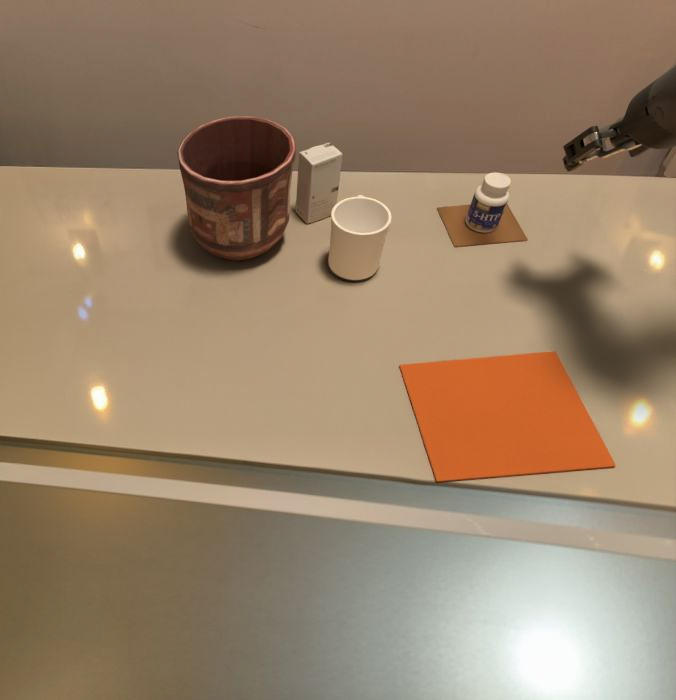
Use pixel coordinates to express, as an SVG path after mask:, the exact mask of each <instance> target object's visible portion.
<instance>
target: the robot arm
mask: <svg viewBox="0 0 676 700" xmlns="http://www.w3.org/2000/svg"><path fill="white" fill-rule="evenodd" d="M606 141H609V142H610V144H611V146H612V147H613V148H610V149H608V147H607V143H606ZM674 147H676V64H675V65H673V66H671V68H669V69H668V70H666V72H664V73H663V74H661V75H659V77H657V78H656V79H654V80H653V81H652V82H651V83H649V84H648V85H647V86H646V87H644V88H643V89H641V90H640V91H638V92H637V93H636V94H635V95H634V96H633V98H631V100H630V101H629V103H628V106H627V107H626V111H625V114H624V116H621V117H619V118H618V119H616V120H615V122H612V123H610V124H608V125H605V126H604V127H601V128H599V126H598V125H592V126H590V127H589V128H587V129H585V130H584V131H582V132H581V133H580V134H578V135H577V136H576V137H574V138H572V139H571V140H570V141H568V142H567V143H566V144H564V145H563V151H564V154H565V155H564V156H563V157H562V163H563V167H564V170H565V171H566V172H572V171H575V170H577V169H578V168H580V167H582V166H583V165H584V164H586V163H587V162H589V161H591V160H594V159H597V158H602V159H606V158H609V157H612V156H614V155H616V154H618V153H621V152H624V151H628V154H629V156H630V157H631V158H636V157H639V156H641V155H642V154H643V153H645V152H648V151H649V150H651V149H653V150H667V149H672V148H674Z"/></svg>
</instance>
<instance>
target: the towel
mask: <svg viewBox="0 0 676 700" xmlns="http://www.w3.org/2000/svg"><path fill="white" fill-rule="evenodd" d="M399 366H400V367H399V370H400V373H401V377H402V379H403V383H404V382H405V383H404V386H405V385H406V386H405V389H406V388H407V389H406V392H407V391H408V392H407V395H408V394H409V395H408V398H409V397H410V398H409V401H410V400H411V401H410V404H411V403H412V405H411V407H413V408H412V411H413V410H414V411H413V414H414V413H415V414H414V417H415V416H416V417H415V420H416V423H417V422H418V423H417V426H419V427H418V429H420V430H419V433H420V432H421V433H420V436H421V439H422V442H423V445H424V448H425V452H426V456H427V458H428V461H429V465H430V467H431V470H432V469H433V471H432V473H433V472H434V474H433V476H434V475H435V477H434V479H436V480H435V482H436V483H445V482H446V481H447V482H458V481H457V480H459V481H468V480H469V479H471V480H481V479H480V478H482V479H492V478H505V477H515V476H517V477H518V476H529V475H540V474H550V473H551V474H552V473H561V472H572V471H573V472H574V471H575V472H576V471H585V470H586V471H587V470H598V469H611V468H615V467H617V465H616V463H615V461H614V459H613V457H612V456H611V453H610V451H609V450H608V448H607V446H606V444H605V442H604V441H603V438H602V436H601V434H600V432H599V430H598V429H597V427H596V425H595V423H594V421H593V419H592V418H591V415H590V414H589V412H588V410H587V408H586V406H585V404H584V402H583V401H582V399H581V397H580V395H579V393H578V391H577V390H576V387H575V386H574V383H573V382H572V379H571V378H570V376H569V374H568V372H567V370H566V369H565V367H564V365H563V363H562V361H561V359H560V357H559V356H558V352H557V351H554V350H552V351H542V352H541V351H540V352H529V353H519V354H508V355H497V356H496V355H495V356H485V357H475V358H474V357H473V358H462V359H451V360H450V359H449V360H440V361H427V362H418V363H417V362H416V363H406V364H405V363H404V364H399Z"/></svg>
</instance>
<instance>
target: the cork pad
mask: <svg viewBox="0 0 676 700" xmlns="http://www.w3.org/2000/svg"><path fill="white" fill-rule="evenodd" d="M470 205H471V204H461V205H450V206H438V207H436V210H437V213H438V214H439V217H440V219H441V221H442V223H443V225H444V228H445V230H446V232H447V234H448V236H449V237H450V241H451V242H452V245H453V247H454V248H462V247H474V246H483V245H494V244H496V245H497V244H507V243H517V242H527V241H528V238H527V236H526V234H525V232H524V230H523V228H522V227H521V225H520V223H519V222H518V219H517V218H516V217H515V214H514V213H513V211H512V210H511V208H510V206H509V205H508V203H507V205H506V207H505V210H504V212H503V215H502V217H501V219H500V222H499V224H498V226H497V228H496V229H495V230H493V231H491V232H487V233H482V232H477V231H474V230H472V229H471V228H469V227H468V226H467V224H466V216H467V213H468V210H469V207H470Z"/></svg>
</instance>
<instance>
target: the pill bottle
mask: <svg viewBox="0 0 676 700" xmlns="http://www.w3.org/2000/svg"><path fill="white" fill-rule="evenodd" d="M511 183H512V180H511V178H510V177H509V176H508V175H507V174H506V173H505V174H504V173H502V172H497V171H496V172H494V171H493V172H490V173H487V174H486V175H485V176H484V178H483V181H482V184H480V185H478V186H477V187H476V189H475V191H474V193H473V195H472V198H471V202H470V204H469V205H470V207H469V210H468V213H467V216H466V224H467V226H468V227H469V228H471V229H472V230H474V231H477V232H482V233H487V232H491V231H493V230H495V229H496V228H497V226H498V224H499V222H500V219H501V217H502V215H503V212H504V210H505V207H506V205H507V204H508V202H509V200H510V191H509V189H510V187H511Z"/></svg>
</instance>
